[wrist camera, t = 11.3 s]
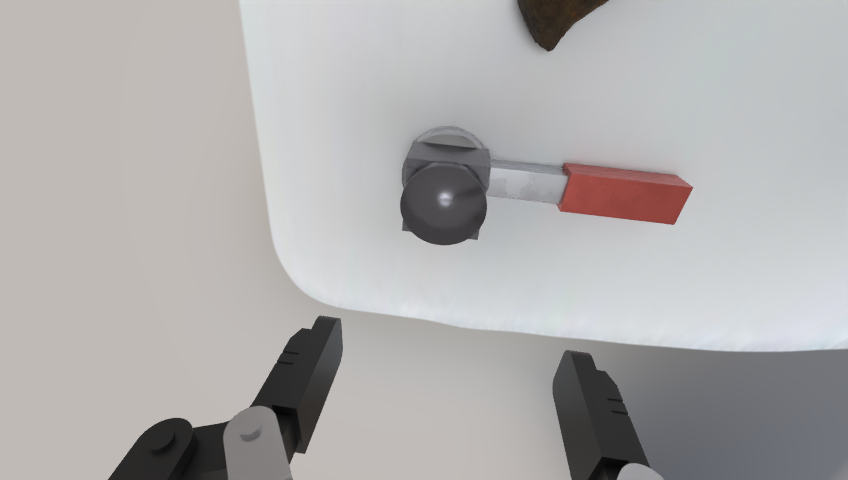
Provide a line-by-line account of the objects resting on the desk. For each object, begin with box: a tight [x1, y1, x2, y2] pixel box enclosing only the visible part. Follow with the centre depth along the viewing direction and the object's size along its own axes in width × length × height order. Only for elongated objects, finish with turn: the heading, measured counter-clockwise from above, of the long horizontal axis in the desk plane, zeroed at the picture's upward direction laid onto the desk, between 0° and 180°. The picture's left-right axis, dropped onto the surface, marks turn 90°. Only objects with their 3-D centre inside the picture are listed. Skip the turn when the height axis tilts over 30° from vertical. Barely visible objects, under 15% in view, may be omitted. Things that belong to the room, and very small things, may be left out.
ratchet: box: [402, 127, 693, 225], centre depth 28 cm, size 22×7×6 cm, turn 85°
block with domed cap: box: [400, 141, 491, 245], centre depth 26 cm, size 6×6×5 cm
